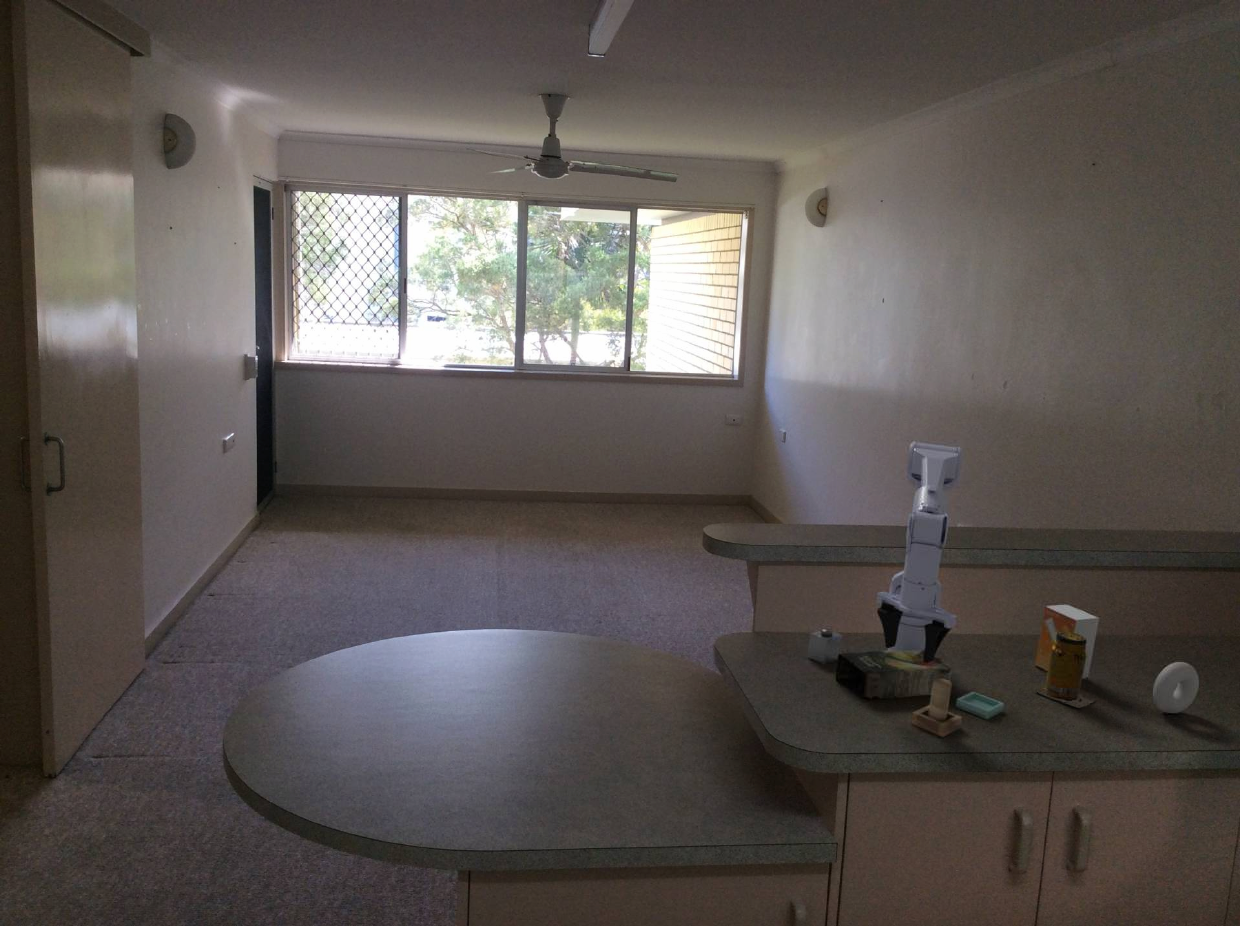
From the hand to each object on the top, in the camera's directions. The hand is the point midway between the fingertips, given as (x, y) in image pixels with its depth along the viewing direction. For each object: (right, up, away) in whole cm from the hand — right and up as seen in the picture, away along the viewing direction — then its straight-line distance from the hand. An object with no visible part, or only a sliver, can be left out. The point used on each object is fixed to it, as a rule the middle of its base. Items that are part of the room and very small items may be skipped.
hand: (908, 653), depth 176 cm
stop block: (-11, -5, +22) cm, 25 cm away
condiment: (+33, -11, +12) cm, 37 cm away
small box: (+38, -9, +25) cm, 46 cm away
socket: (+3, -11, -5) cm, 13 cm away
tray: (+14, -11, +4) cm, 18 cm away
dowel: (+3, -11, -5) cm, 13 cm away
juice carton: (0, -9, +11) cm, 14 cm away
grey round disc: (+51, -13, +9) cm, 54 cm away
